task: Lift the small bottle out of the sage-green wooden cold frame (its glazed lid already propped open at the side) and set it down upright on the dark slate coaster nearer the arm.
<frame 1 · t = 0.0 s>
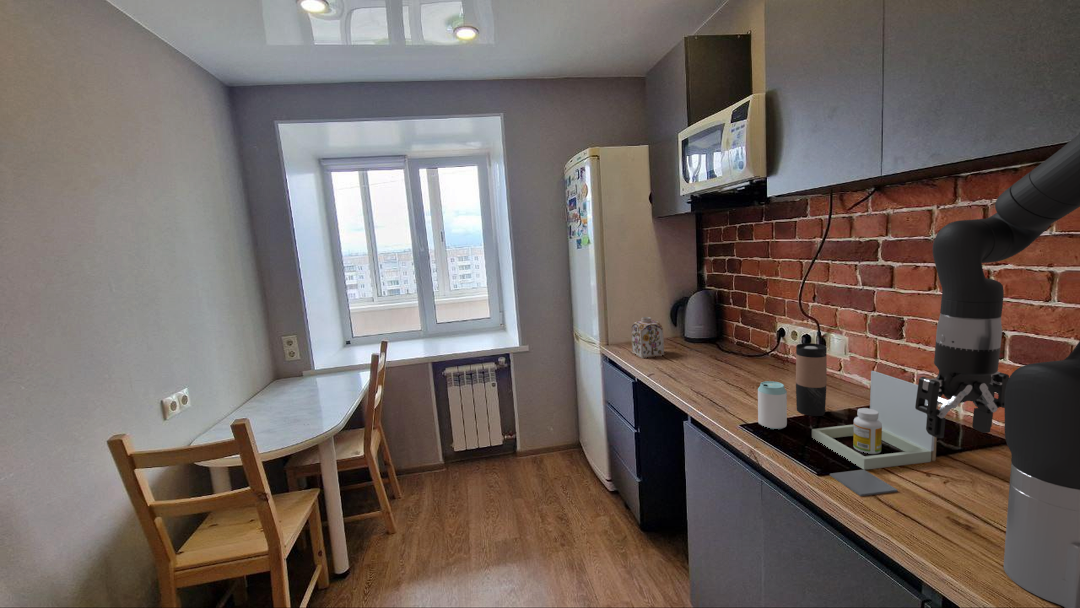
hand: (958, 433, 72), 17 cm above the countertop, tool pointing down, fingers open, 8 cm apart
cold frame: (866, 449, 102), on the countertop
travel mug: (810, 412, 125), on the countertop
decorative jar: (647, 354, 203), on the countertop
can: (772, 426, 118), on the countertop
slate coaster: (862, 483, 88), on the countertop
supplement bottle: (866, 450, 102), resting in cold frame
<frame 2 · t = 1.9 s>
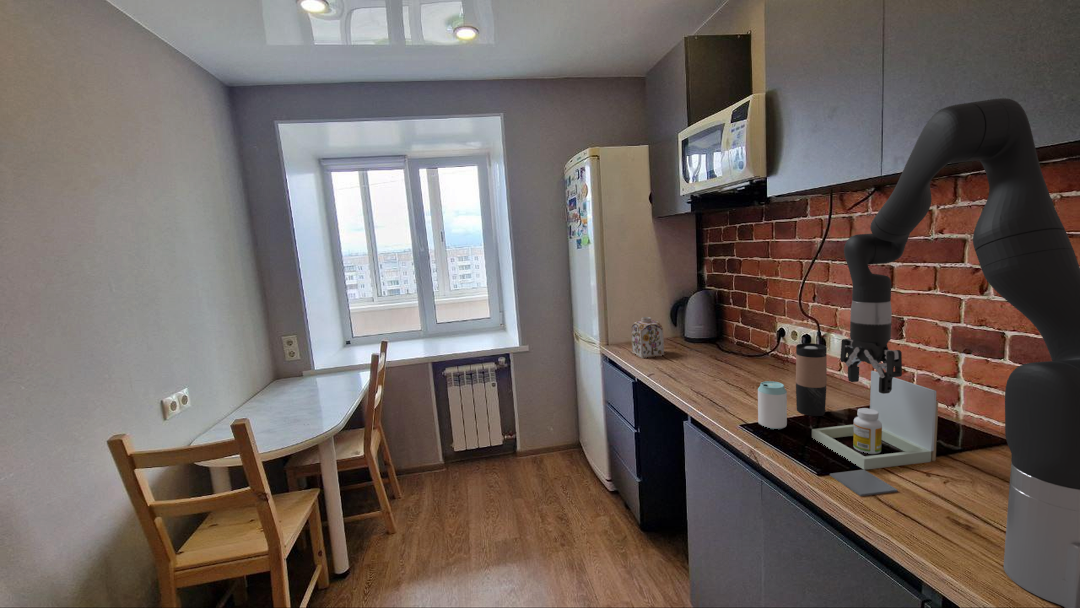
hand: (868, 386, 100), 16 cm above the countertop, tool pointing down, fingers open, 8 cm apart
nothing on the countertop moved.
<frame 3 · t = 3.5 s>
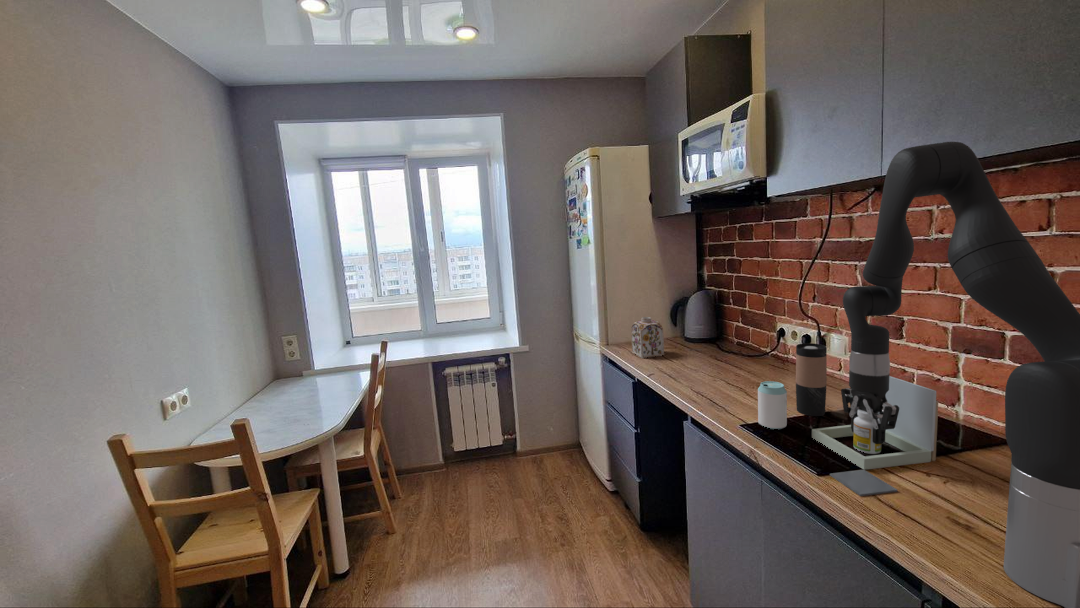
hand: (867, 437, 101), 3 cm above the countertop, tool pointing down, fingers closed on supplement bottle, 5 cm apart
supplement bottle: (866, 450, 102), resting in cold frame, touching gripper
everything else where it was.
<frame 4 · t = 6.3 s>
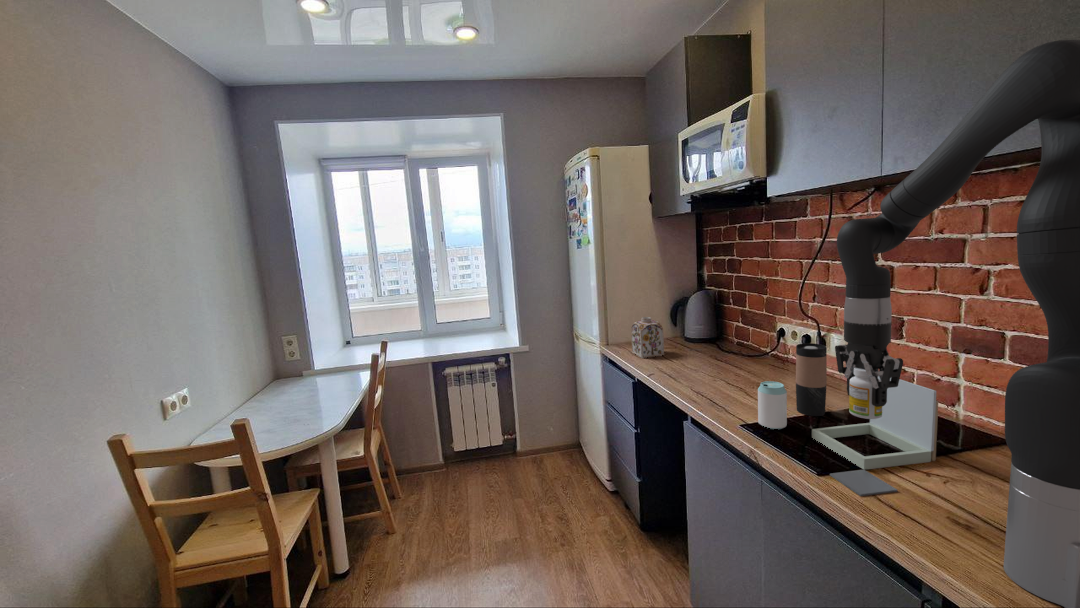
hand: (865, 400, 86), 18 cm above the countertop, tool pointing down, fingers closed on supplement bottle, 5 cm apart
supplement bottle: (865, 415, 86), point 15 cm above the countertop, touching gripper
everything else where it was.
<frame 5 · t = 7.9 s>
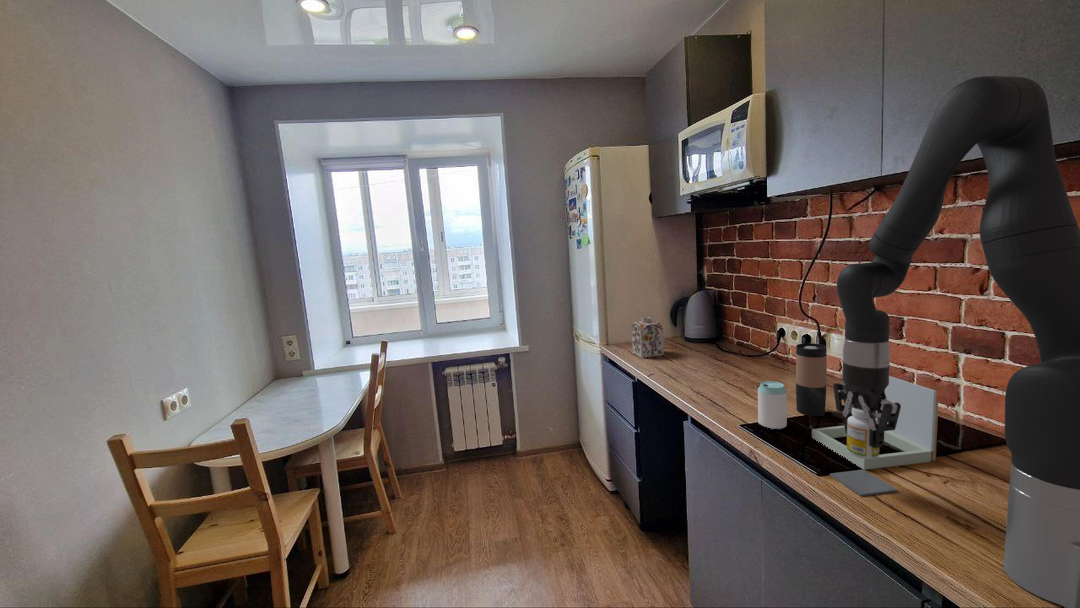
hand: (863, 439, 87), 10 cm above the countertop, tool pointing down, fingers closed on supplement bottle, 5 cm apart
supplement bottle: (862, 454, 88), point 6 cm above the countertop, touching gripper
everything else where it was.
when the fingers open (5 cm above the countertop, at t = 9.3 s): supplement bottle drops 1 cm, resting on slate coaster.
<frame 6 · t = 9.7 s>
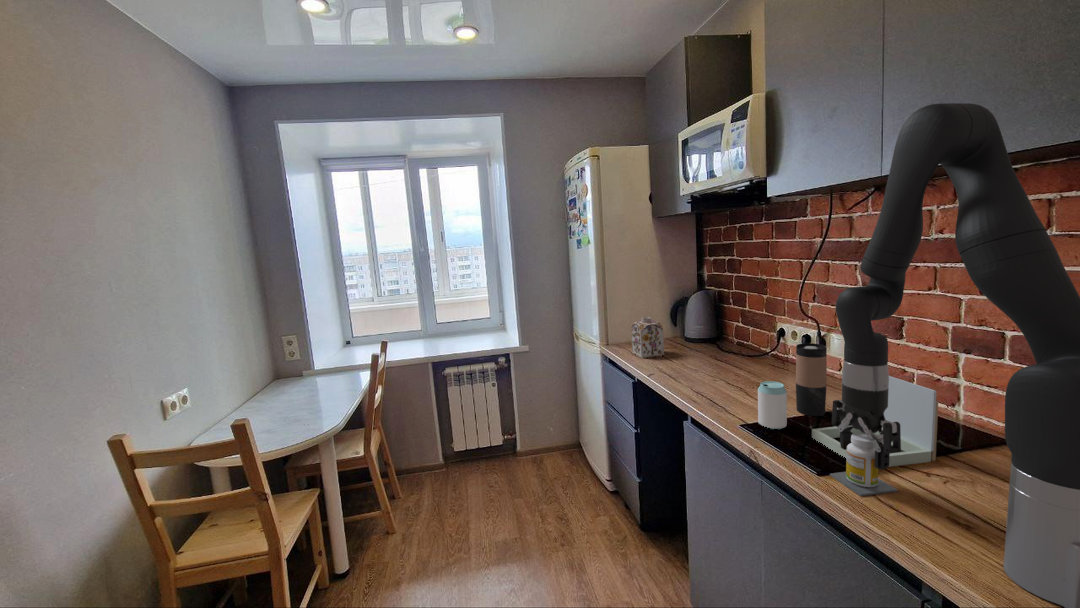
hand: (862, 458, 88), 6 cm above the countertop, tool pointing down, fingers open, 8 cm apart
supplement bottle: (861, 481, 88), resting on slate coaster
everything else where it was.
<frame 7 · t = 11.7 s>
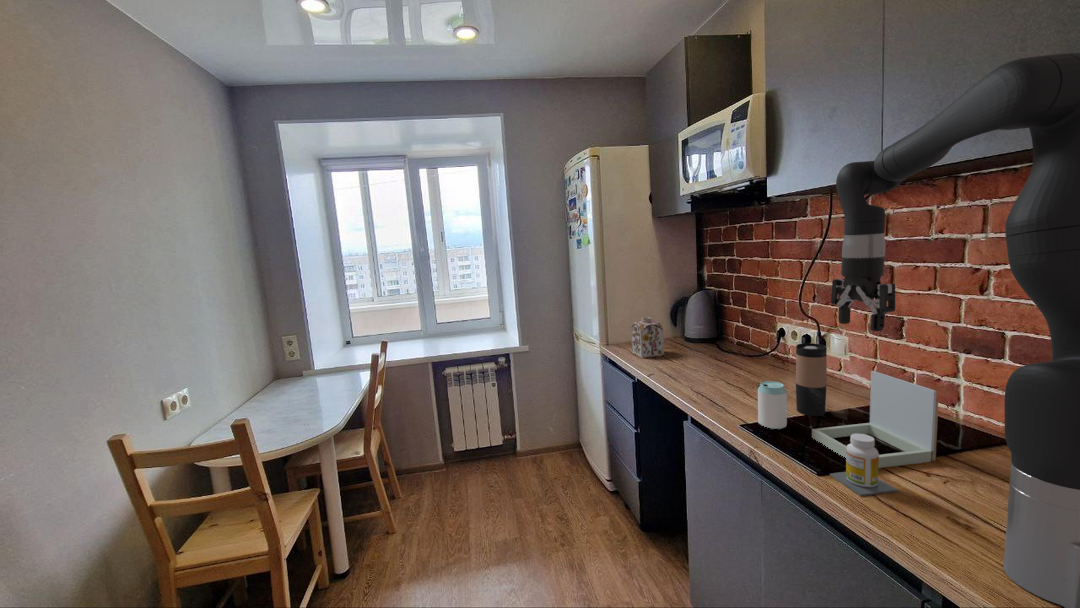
hand: (859, 326, 95), 31 cm above the countertop, tool pointing down, fingers open, 8 cm apart
nothing on the countertop moved.
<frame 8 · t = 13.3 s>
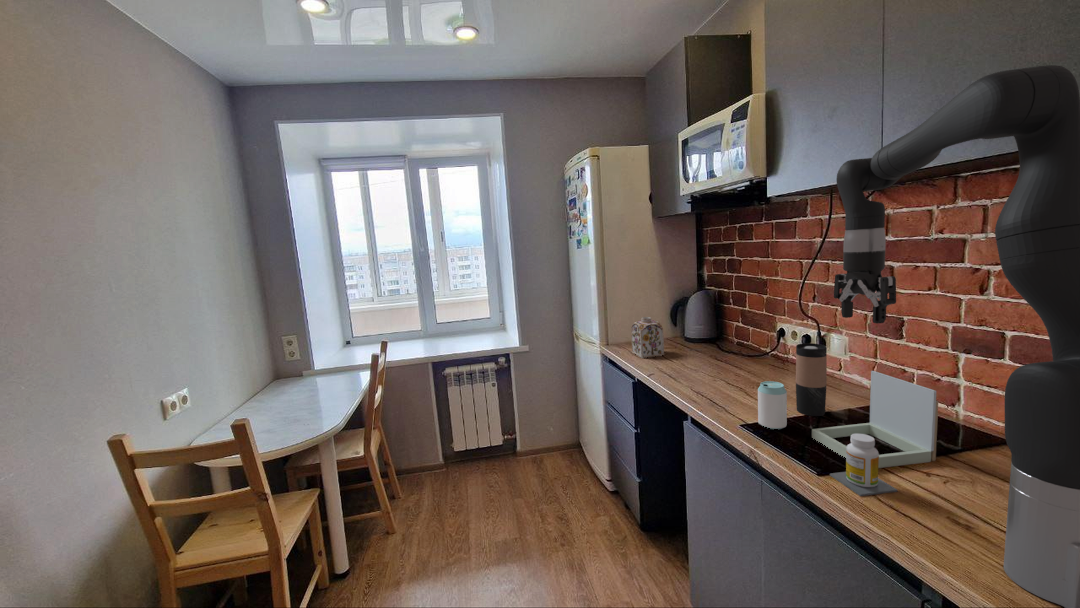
hand: (862, 320, 97), 32 cm above the countertop, tool pointing down, fingers open, 8 cm apart
nothing on the countertop moved.
at the end: supplement bottle 0.1 cm from the slate coaster (horizontally); supplement bottle tilted 0°; the gripper is holding nothing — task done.
